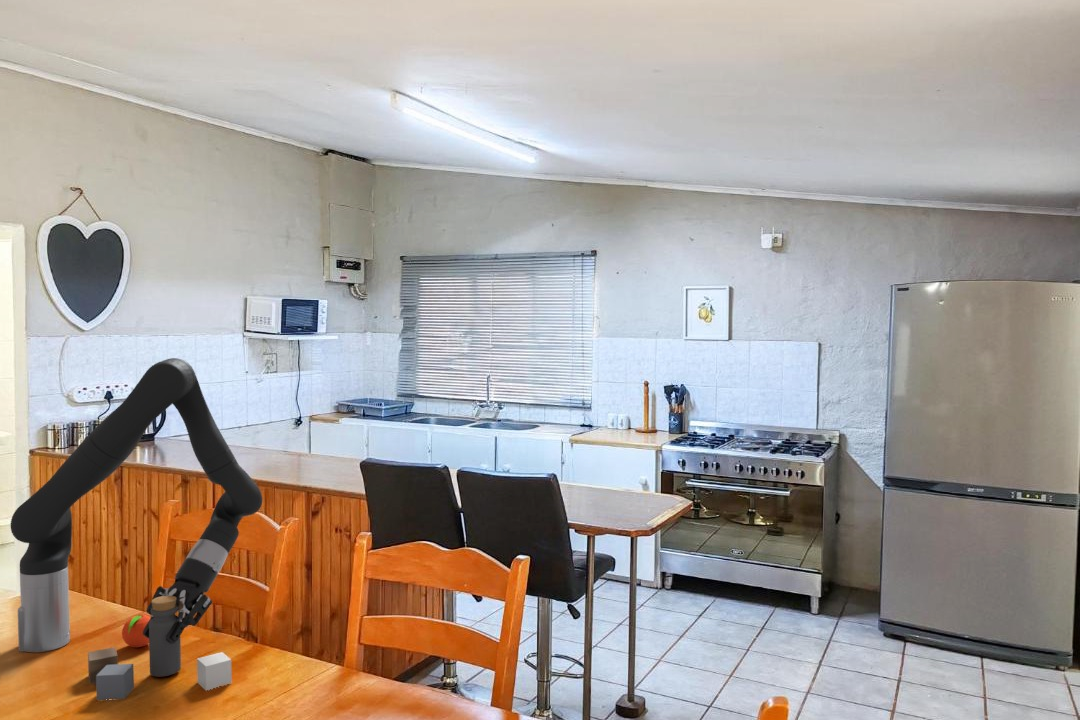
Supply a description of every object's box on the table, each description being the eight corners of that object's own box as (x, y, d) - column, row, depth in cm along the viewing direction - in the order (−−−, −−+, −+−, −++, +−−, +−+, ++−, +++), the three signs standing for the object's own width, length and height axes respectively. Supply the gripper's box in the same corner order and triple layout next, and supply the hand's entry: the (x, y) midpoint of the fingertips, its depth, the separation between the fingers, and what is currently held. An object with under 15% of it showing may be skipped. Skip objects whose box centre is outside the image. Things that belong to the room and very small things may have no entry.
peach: (144, 654, 179) (144, 622, 179) (113, 654, 179) (112, 622, 179) (162, 640, 187) (161, 609, 187) (132, 640, 187) (131, 609, 187)
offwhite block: (206, 691, 162) (205, 666, 162) (197, 682, 166) (197, 658, 165) (231, 684, 165) (231, 659, 165) (222, 675, 169) (222, 652, 169)
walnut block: (90, 685, 164) (89, 660, 164) (88, 676, 169) (87, 652, 168) (118, 679, 167) (117, 655, 167) (115, 670, 171) (115, 647, 171)
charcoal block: (96, 701, 158) (96, 675, 157) (107, 689, 163) (106, 664, 162) (124, 699, 158) (123, 674, 158) (133, 688, 163) (133, 663, 163)
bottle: (169, 678, 166) (167, 605, 165) (143, 675, 167) (141, 602, 166) (187, 666, 172) (185, 595, 171) (162, 663, 173) (160, 593, 172)
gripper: (167, 552, 178) (121, 625, 168) (218, 561, 172) (173, 637, 162) (187, 569, 183) (143, 641, 173) (237, 578, 177) (194, 653, 167)
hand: (158, 639), depth 168 cm, fingers closed on bottle, 5 cm apart
